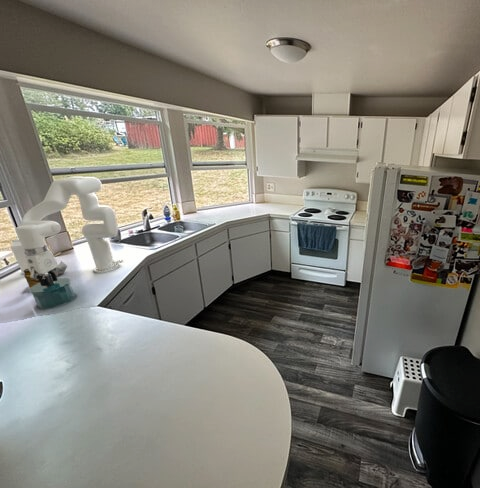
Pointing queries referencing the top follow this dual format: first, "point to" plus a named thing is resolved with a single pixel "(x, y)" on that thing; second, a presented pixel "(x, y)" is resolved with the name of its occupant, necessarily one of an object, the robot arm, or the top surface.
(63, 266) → the paper boat
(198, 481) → the top surface
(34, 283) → the condiment
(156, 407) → the top surface
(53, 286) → the lid
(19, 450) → the top surface
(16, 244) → the milk
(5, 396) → the top surface
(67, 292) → the pot
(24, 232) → the robot arm
